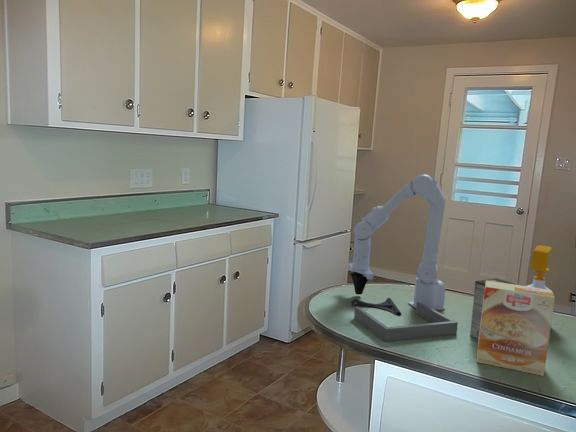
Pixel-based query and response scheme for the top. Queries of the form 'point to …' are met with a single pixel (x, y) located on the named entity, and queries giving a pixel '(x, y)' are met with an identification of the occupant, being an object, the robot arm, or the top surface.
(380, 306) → the bracket
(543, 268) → the soap bottle
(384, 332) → the box
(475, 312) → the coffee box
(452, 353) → the top surface
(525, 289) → the coffeecake box
